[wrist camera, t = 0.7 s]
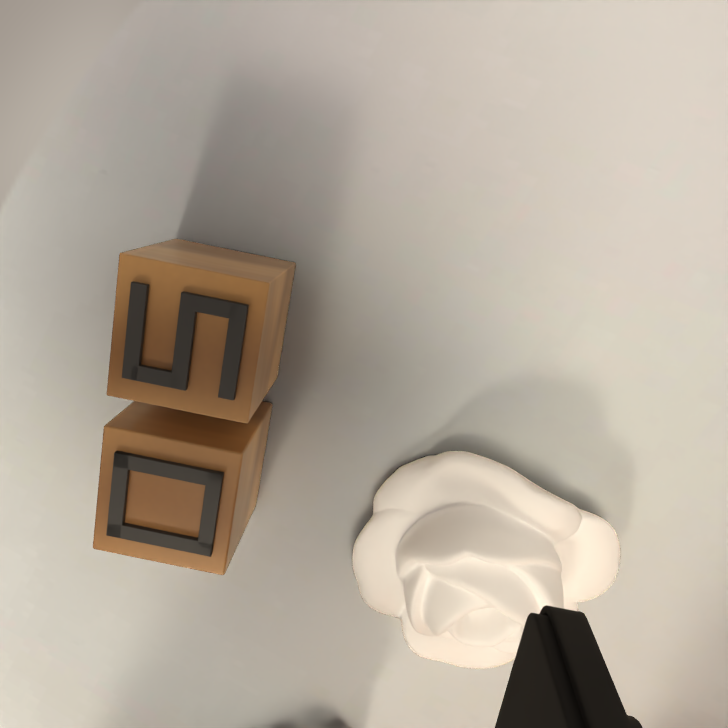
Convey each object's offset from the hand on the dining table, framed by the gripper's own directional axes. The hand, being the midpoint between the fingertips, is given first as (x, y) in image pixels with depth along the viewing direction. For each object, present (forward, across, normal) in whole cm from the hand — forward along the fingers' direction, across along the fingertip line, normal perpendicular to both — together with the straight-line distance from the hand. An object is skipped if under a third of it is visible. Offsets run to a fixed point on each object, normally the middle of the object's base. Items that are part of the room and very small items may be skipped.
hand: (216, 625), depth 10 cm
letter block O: (+16, +4, +4) cm, 17 cm away
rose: (+16, -7, +7) cm, 19 cm away
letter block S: (+16, +4, -1) cm, 16 cm away
